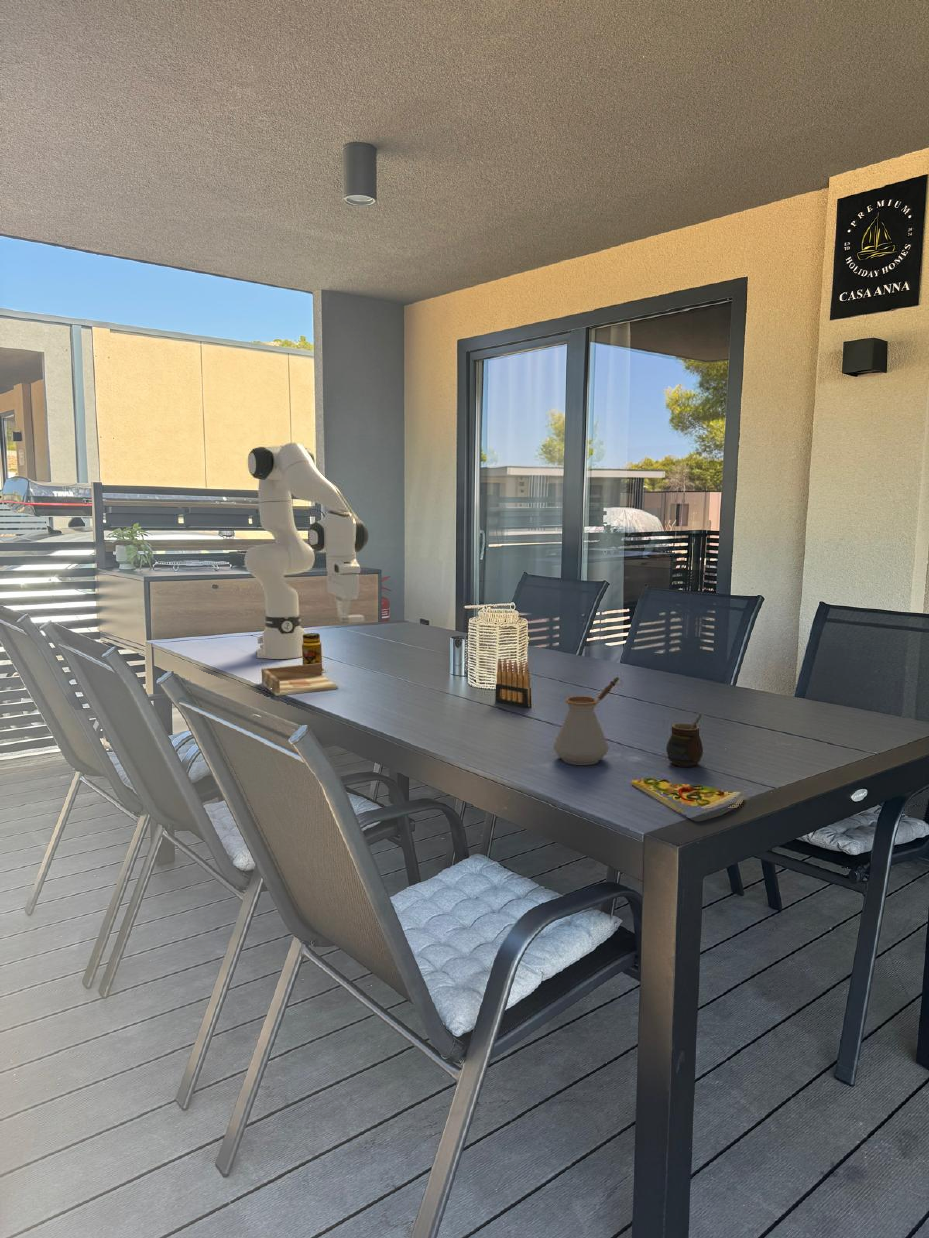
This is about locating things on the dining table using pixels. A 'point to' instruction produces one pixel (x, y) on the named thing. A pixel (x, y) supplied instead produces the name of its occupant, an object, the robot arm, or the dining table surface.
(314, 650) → the condiment
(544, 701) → the dining table surface
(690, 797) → the pizza slice
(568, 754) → the coffee pot
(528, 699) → the ammunition clip
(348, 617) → the bracket
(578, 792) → the dining table surface
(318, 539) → the robot arm
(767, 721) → the dining table surface
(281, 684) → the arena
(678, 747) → the mate gourd
